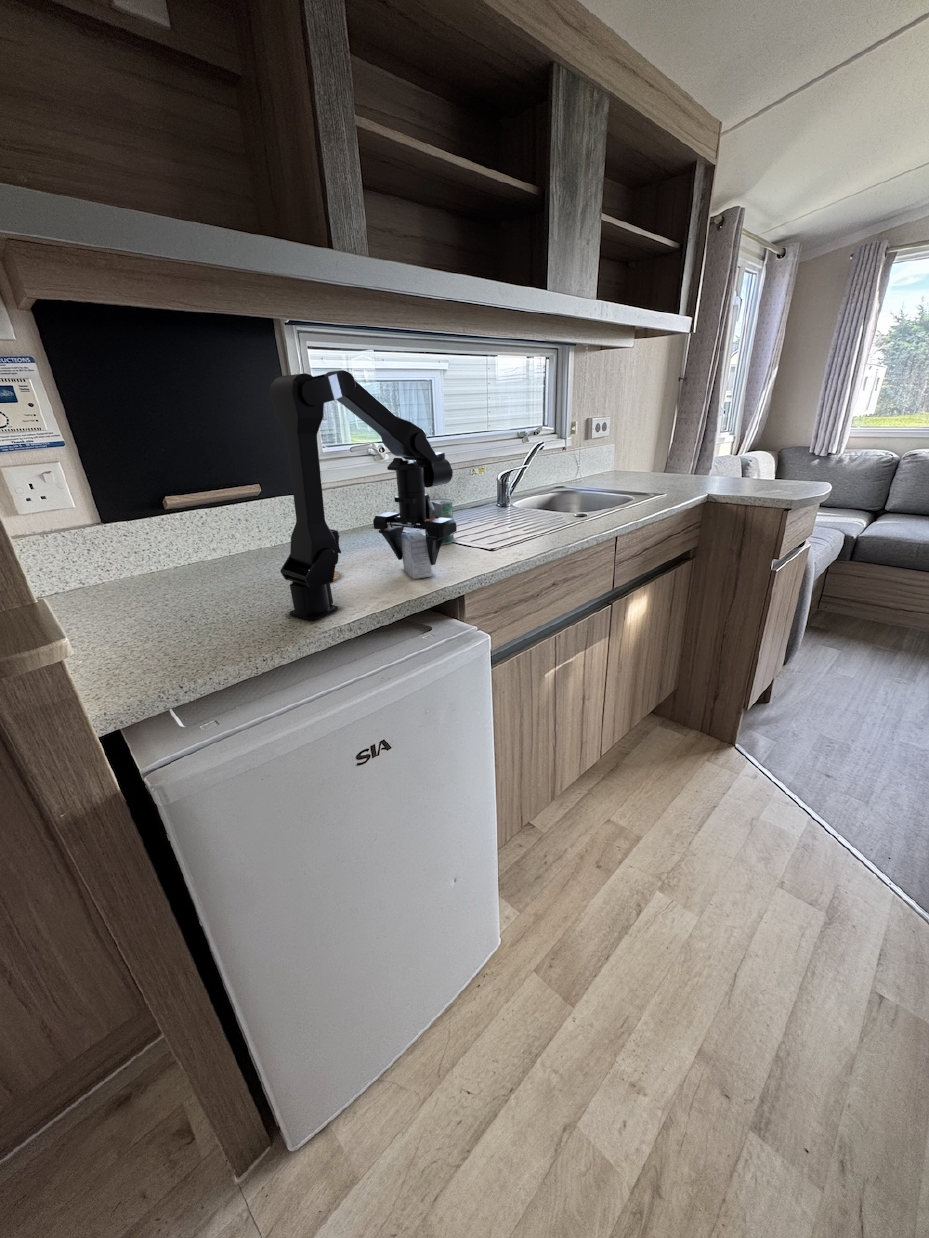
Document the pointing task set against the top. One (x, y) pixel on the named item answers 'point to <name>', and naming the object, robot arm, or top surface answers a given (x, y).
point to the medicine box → (415, 555)
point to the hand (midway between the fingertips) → (416, 562)
